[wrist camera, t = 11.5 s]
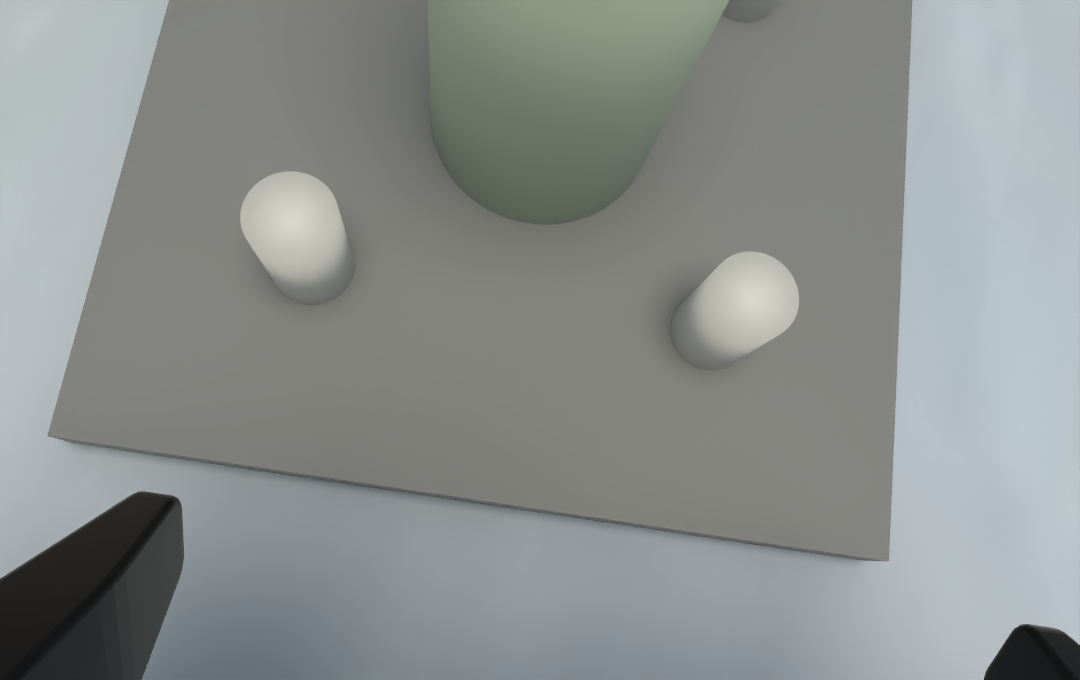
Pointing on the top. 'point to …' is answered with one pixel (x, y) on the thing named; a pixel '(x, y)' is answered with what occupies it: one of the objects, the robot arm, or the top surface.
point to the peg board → (513, 281)
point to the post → (557, 96)
